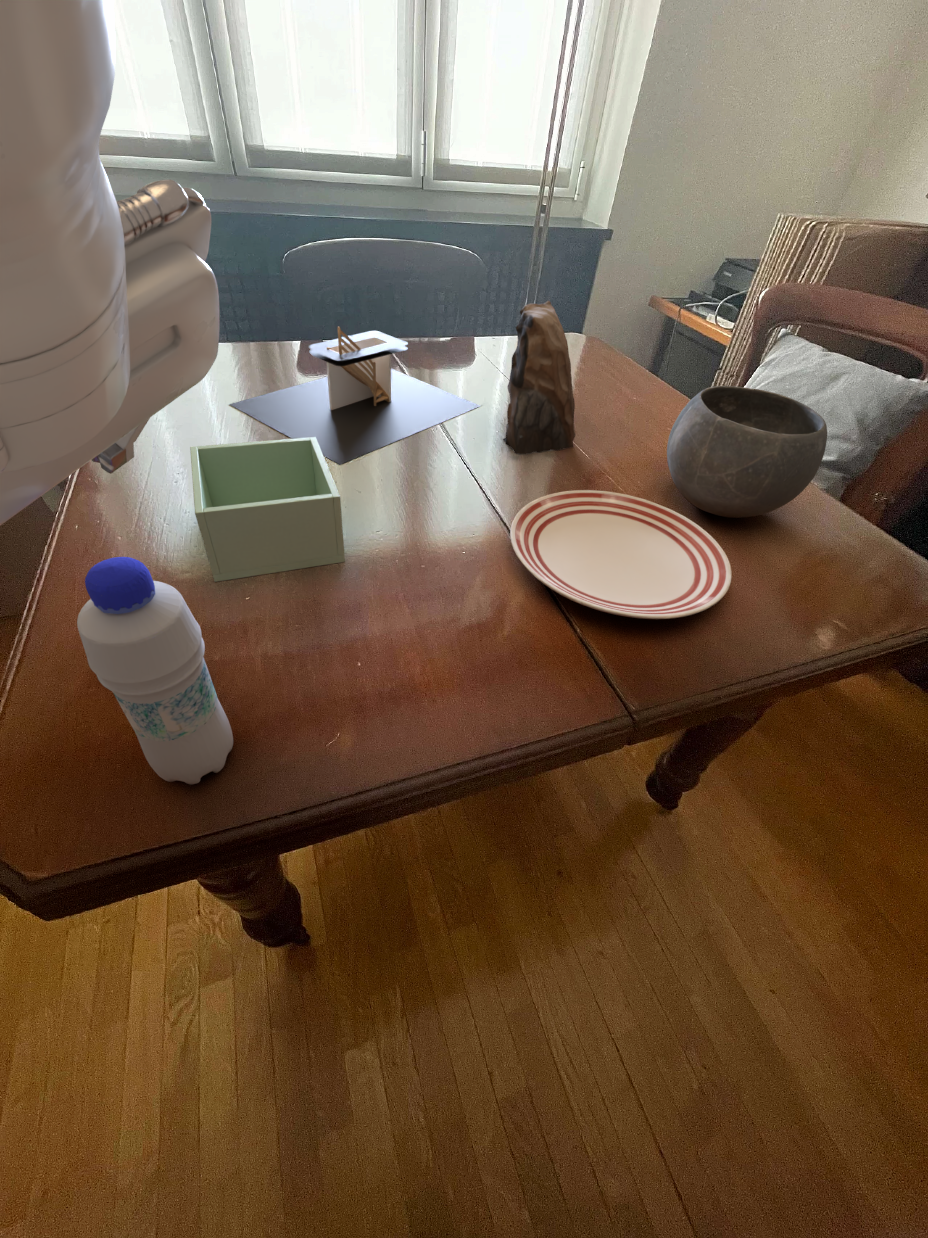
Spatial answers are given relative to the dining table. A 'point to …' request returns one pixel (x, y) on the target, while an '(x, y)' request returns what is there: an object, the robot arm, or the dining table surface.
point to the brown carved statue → (540, 384)
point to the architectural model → (356, 399)
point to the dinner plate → (620, 554)
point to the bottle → (154, 668)
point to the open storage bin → (266, 507)
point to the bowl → (744, 450)
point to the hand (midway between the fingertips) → (29, 514)
